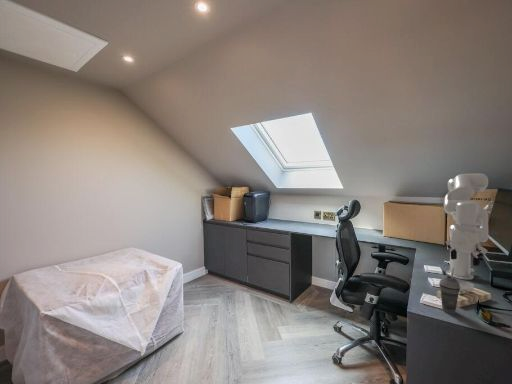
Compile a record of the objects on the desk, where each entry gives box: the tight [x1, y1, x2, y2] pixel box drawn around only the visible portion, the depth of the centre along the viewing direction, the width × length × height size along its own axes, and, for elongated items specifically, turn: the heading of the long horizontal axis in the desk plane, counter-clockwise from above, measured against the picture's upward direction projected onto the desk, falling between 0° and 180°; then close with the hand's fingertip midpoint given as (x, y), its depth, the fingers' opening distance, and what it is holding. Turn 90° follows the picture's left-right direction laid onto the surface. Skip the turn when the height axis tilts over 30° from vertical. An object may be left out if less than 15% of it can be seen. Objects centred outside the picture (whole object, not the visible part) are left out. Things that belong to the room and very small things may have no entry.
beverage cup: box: [438, 268, 460, 315], centre depth 106 cm, size 7×7×20 cm
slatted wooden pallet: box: [436, 287, 492, 308], centre depth 118 cm, size 22×10×3 cm, turn 107°
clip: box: [458, 281, 475, 296], centre depth 118 cm, size 10×3×7 cm, turn 107°
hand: (464, 262), depth 117 cm, fingers open, 9 cm apart
